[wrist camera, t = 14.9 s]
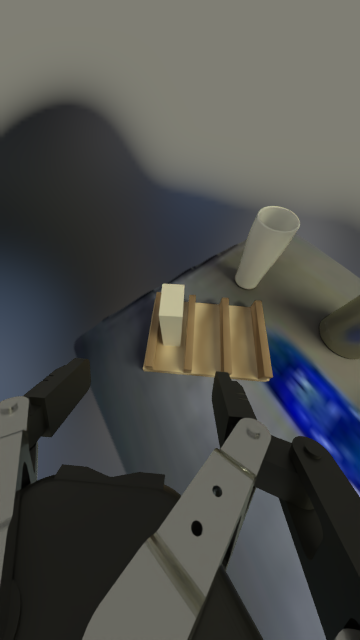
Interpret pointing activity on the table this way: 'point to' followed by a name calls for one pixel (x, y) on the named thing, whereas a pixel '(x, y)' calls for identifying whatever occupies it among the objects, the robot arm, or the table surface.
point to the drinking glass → (265, 244)
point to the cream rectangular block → (171, 314)
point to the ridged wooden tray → (213, 342)
